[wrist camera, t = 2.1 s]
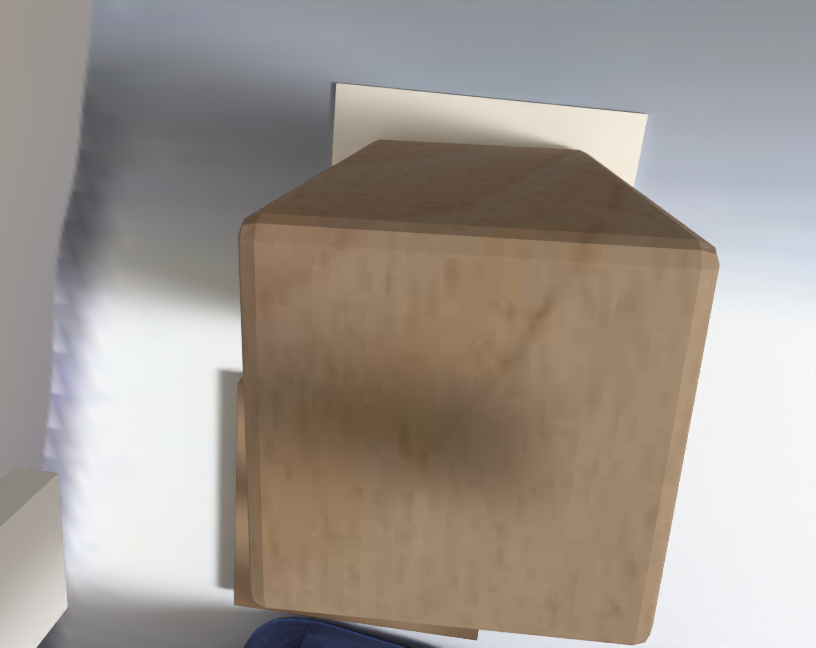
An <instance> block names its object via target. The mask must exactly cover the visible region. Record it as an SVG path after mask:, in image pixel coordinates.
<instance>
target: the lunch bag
mask: <svg viewBox="0 0 816 648" xmlns="http://www.w3.org/2000/svg"><path fill="white" fill-rule="evenodd" d="M244 648H406V647H403V646H400V645H396V644H393V643H389V642H386V641H382V640H379V639H376V638H373V637H370V636H366V635H363V634H360V633H357V632H354V631H351V630H347V629H344V628H340V627H337V626H333V625H330V624H327V623H322V622H318V621H313V620H308V619H297V618H284V619H278V620H274V621H271V622H268V623H266V624H265V625H263V626H261V627H260V628H259V629H258V630H256V631H255V633H254V634H253V635H252V636H251V637H250V639H249V640H248V641H247V643H246V644H245V646H244Z"/></svg>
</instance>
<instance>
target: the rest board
mask: <svg viewBox="0 0 816 648" xmlns="http://www.w3.org/2000/svg"><path fill="white" fill-rule="evenodd" d="M234 605H237V606H244V607H251V608H258V609H265V610H271V611H278V612H285V613H292V614H299V615H306V616H313V617H320V618H326V619H333V620H340V621H347V622H354V623H361V624H368V625H375V626H381V627H388V628H395V629H402V630H409V631H416V632H423V633H430V634H436V635H443V636H450V637H457V638H464V639H471V640H477V636H478V630H479V629H470V628H460V627H450V626H441V625H431V624H421V623H411V622H402V621H392V620H382V619H372V618H363V617H353V616H343V615H333V614H324V613H314V612H304V611H294V610H285V609H275V608H266V607H264V606H262V605H259V604H257V603H255V601H254V599H253V596H252V593H251V587H250V564H249V535H248V506H247V477H246V448H245V419H244V390H243V377H242V378H241V380H240V381H239V382H238V416H237V473H236V529H235V586H234Z"/></svg>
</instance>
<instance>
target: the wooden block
mask: <svg viewBox="0 0 816 648" xmlns="http://www.w3.org/2000/svg"><path fill="white" fill-rule="evenodd" d="M238 245H239V274H240V303H241V332H242V361H243V390H244V419H245V448H246V477H247V506H248V535H249V564H250V587H251V593H252V596H253V599H254V601H255V603H257V604H259V605H262V606H264V607H266V608H275V609H285V610H294V611H304V612H314V613H324V614H333V615H343V616H353V617H363V618H372V619H382V620H392V621H402V622H411V623H421V624H431V625H441V626H450V627H460V628H470V629H480V630H489V631H499V632H509V633H519V634H528V635H538V636H548V637H558V638H567V639H577V640H587V641H597V642H606V643H616V644H626V645H636V644H640V643H644V642H645V641H646V640H647V638H648V637H649V635H650V633H651V629H652V626H653V621H654V616H655V610H656V605H657V600H658V594H659V589H660V583H661V578H662V573H663V567H664V562H665V556H666V551H667V546H668V540H669V535H670V529H671V524H672V519H673V513H674V508H675V502H676V497H677V492H678V486H679V481H680V475H681V470H682V465H683V459H684V454H685V448H686V443H687V438H688V432H689V427H690V421H691V416H692V411H693V405H694V400H695V394H696V389H697V384H698V378H699V373H700V367H701V362H702V357H703V351H704V346H705V340H706V335H707V330H708V324H709V319H710V313H711V308H712V303H713V297H714V292H715V286H716V281H717V276H718V270H719V261H718V257H717V253H716V249H715V247H714V246H712V245H711V244H710V243H708V242H707V241H705V240H704V239H703V238H701V237H700V236H699V235H697V234H696V233H695V232H693V231H692V230H691V229H689V228H688V227H686V226H685V225H684V224H682V223H681V222H680V221H678V220H677V219H676V218H674V217H673V216H672V215H670V214H669V213H667V212H666V211H665V210H663V209H662V208H661V207H659V206H658V205H657V204H655V203H654V202H653V201H651V200H650V199H648V198H647V197H646V196H644V195H643V194H642V193H640V192H639V191H638V190H636V189H635V188H634V187H632V186H631V185H629V184H628V183H627V182H625V181H624V180H623V179H621V178H620V177H619V176H617V175H616V174H615V173H613V172H612V171H610V170H609V169H608V168H606V167H605V166H604V165H602V164H601V163H600V162H598V161H597V160H596V159H594V158H593V157H591V156H590V155H589V154H587V153H585V152H583V151H581V150H574V149H554V148H535V147H515V146H496V145H476V144H457V143H437V142H418V141H398V140H377V141H375V142H372V143H370V144H369V145H367V146H365V147H364V148H362V149H360V150H359V151H357V152H355V153H354V154H352V155H350V156H349V157H347V158H345V159H344V160H342V161H340V162H339V163H337V164H335V165H334V166H332V167H330V168H329V169H327V170H325V171H324V172H322V173H320V174H319V175H317V176H315V177H314V178H312V179H310V180H309V181H307V182H305V183H304V184H302V185H300V186H299V187H297V188H295V189H294V190H292V191H290V192H289V193H287V194H285V195H284V196H282V197H280V198H279V199H277V200H275V201H274V202H272V203H270V204H269V205H267V206H265V207H264V208H262V209H260V210H259V211H257V212H255V213H254V214H252V215H250V216H249V217H247V218H245V219H244V221H243V224H242V226H241V229H240V232H239V234H238Z"/></svg>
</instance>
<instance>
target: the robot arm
mask: <svg viewBox="0 0 816 648" xmlns="http://www.w3.org/2000/svg"><path fill="white" fill-rule="evenodd" d="M67 608H68V604H67V590H66V576H65V561H64V547H63V533H62V518H61V504H60V490H59V476H58V473H54V472H47V471H38V470H32V469H24V468H16V467H14V468H13V469H12V470H10V471H9V472H8V473H7V474H6V475H4V476H3V477H2V478H1V479H0V648H37V646H38V645H39V644H40V642H41V641H42V640H43V639H44V637H45V636H46V635H47V633H48V632H49V631H50V630H51V628H52V627H53V626H54V624H55V623H56V622H57V621H58V619H59V618H60V617H61V616H62V614H63V613H64V612H65V610H66V609H67Z"/></svg>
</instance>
